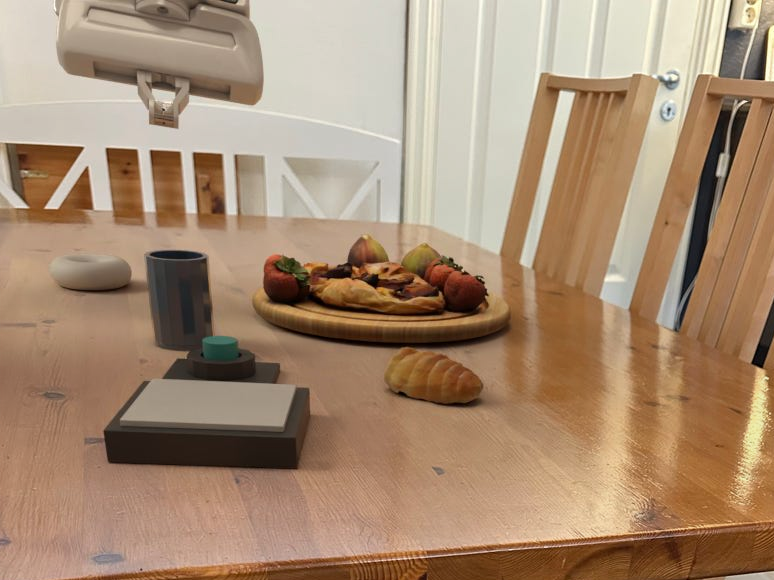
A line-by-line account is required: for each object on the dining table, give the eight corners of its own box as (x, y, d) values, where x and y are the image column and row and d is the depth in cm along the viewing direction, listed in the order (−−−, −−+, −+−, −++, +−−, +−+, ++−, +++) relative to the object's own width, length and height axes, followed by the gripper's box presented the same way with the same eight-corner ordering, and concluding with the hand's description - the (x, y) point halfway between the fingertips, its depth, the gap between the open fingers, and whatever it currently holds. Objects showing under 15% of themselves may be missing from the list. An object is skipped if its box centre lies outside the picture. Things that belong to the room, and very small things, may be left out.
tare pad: (160, 390, 85) (157, 363, 84) (177, 367, 92) (175, 341, 91) (271, 395, 86) (269, 368, 85) (280, 371, 93) (279, 346, 92)
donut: (50, 279, 124) (53, 293, 116) (45, 251, 122) (49, 263, 114) (129, 278, 127) (137, 291, 120) (125, 251, 126) (134, 263, 118)
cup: (148, 350, 97) (138, 258, 92) (161, 336, 102) (152, 248, 97) (209, 353, 97) (202, 261, 93) (219, 338, 102) (212, 251, 98)
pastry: (495, 396, 91) (498, 357, 89) (460, 413, 85) (462, 372, 83) (414, 378, 94) (415, 339, 92) (376, 393, 89) (376, 352, 87)
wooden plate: (253, 347, 100) (248, 266, 96) (252, 287, 127) (249, 222, 123) (538, 351, 107) (545, 275, 103) (481, 293, 134) (484, 231, 129)
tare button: (201, 362, 86) (199, 343, 86) (207, 353, 89) (205, 334, 88) (236, 363, 87) (234, 344, 86) (241, 355, 90) (239, 336, 89)
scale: (107, 462, 69) (101, 423, 68) (147, 409, 81) (142, 374, 79) (297, 469, 71) (295, 430, 69) (310, 415, 82) (309, 381, 80)
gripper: (49, -49, 90) (49, 84, 89) (264, -4, 97) (266, 120, 96) (57, 0, 96) (56, 125, 95) (258, 39, 103) (260, 157, 102)
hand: (163, 123), depth 95 cm, fingers closed
